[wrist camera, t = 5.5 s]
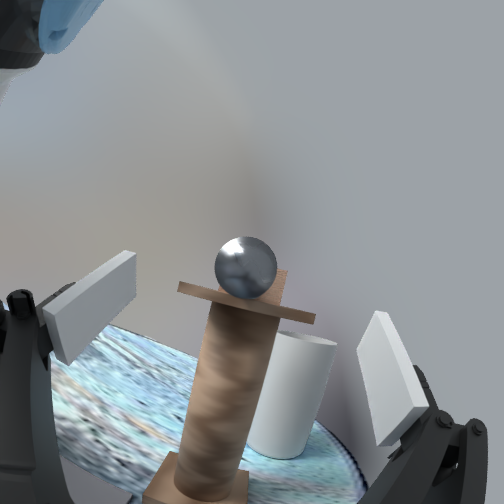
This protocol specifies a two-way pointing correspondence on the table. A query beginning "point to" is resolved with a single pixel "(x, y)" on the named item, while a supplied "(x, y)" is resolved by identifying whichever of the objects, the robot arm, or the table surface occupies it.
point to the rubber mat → (91, 487)
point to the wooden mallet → (250, 271)
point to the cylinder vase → (291, 394)
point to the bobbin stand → (221, 401)
